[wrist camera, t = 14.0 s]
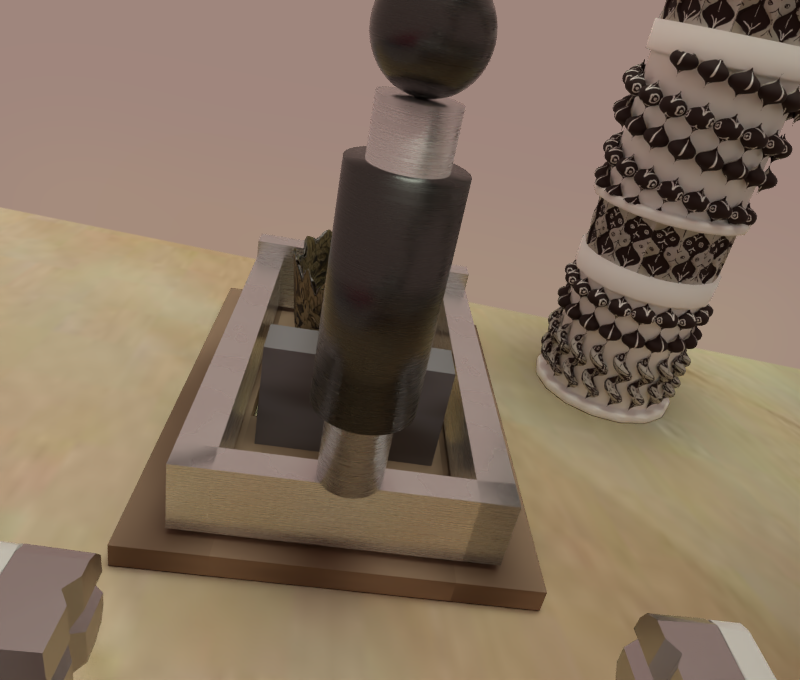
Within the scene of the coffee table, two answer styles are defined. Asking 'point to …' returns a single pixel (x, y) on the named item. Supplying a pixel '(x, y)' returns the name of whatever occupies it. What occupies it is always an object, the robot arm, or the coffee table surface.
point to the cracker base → (301, 437)
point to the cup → (310, 280)
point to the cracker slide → (370, 335)
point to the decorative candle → (672, 202)
